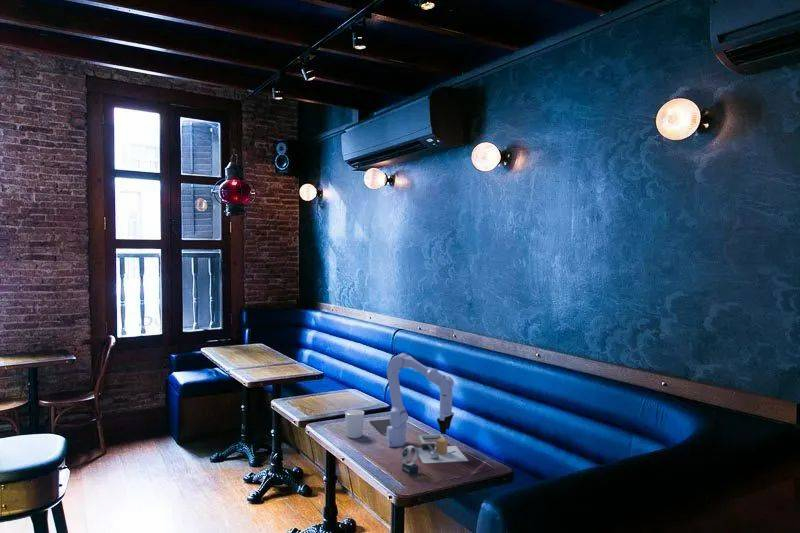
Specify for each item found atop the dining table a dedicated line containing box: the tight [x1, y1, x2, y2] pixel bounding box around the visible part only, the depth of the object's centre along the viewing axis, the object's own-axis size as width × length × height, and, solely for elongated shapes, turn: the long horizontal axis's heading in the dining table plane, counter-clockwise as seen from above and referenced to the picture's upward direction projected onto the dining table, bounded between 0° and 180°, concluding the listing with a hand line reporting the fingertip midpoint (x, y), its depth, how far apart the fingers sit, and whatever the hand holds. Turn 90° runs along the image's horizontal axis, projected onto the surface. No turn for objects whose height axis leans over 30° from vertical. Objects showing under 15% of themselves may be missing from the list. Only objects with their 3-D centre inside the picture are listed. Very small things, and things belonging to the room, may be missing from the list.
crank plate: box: [413, 445, 469, 464], centre depth 253 cm, size 21×19×1 cm
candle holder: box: [344, 408, 365, 439], centre depth 278 cm, size 10×10×12 cm
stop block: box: [435, 438, 449, 455], centre depth 254 cm, size 4×4×6 cm
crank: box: [421, 442, 439, 459], centre depth 252 cm, size 14×6×3 cm, turn 12°
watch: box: [400, 445, 420, 476], centre depth 234 cm, size 6×8×11 cm
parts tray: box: [418, 433, 449, 447], centre depth 269 cm, size 12×12×2 cm
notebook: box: [369, 418, 391, 436], centre depth 292 cm, size 13×2×21 cm
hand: (445, 431), depth 259 cm, fingers open, 7 cm apart
